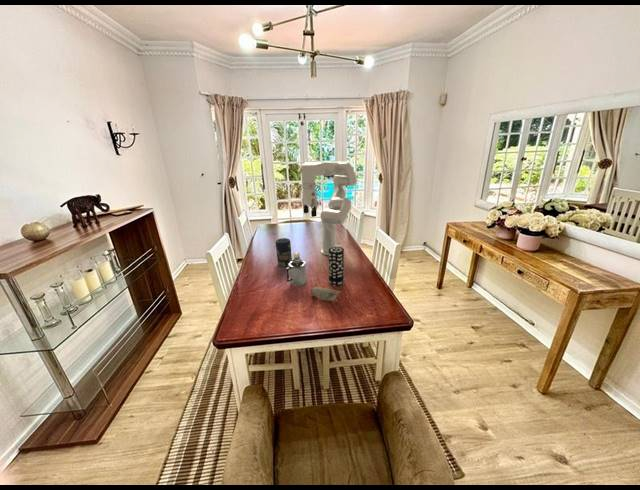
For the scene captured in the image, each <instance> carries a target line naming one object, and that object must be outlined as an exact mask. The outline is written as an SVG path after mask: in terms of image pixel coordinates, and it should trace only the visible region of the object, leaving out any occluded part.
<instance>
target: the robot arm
mask: <svg viewBox="0 0 640 490" xmlns="http://www.w3.org/2000/svg"><path fill="white" fill-rule="evenodd" d="M300 167H301V168H300V169H301V170H300V171H301V187H302V198H301V201H302V207H303V214H309V213H310V214H311V215H310V216H311V218H313V217H317V215H318V214H317V210H318V209H317V208H318V205H319V204H318V196H317V195H318V194H317V190H316V177H320V176H324V177H327V176H333V179H332V180H333V188H334V191H333V194H332V196H331V198H329V202H328V205H327V206H328V208H325V209H322V211H321V212H320V221H321V230H322V249H321V250H320V253H321V254H322V255H325V256H329V248H332V247H341V248H343V247H342V245H341V244H337V227H336V225H338V226H340V225H341V226H342V225H343V224H344V223H345V222H346V219H347V218H348V216H349V214H350V211H351V209H352V201H351V199H350V198H348V197H346V191H345V188H343V187H354V186H356V184H357V181H358V180H357V175H356V172H355V171H354V168H353V166H352V165H351V163H350V162H349V161H348V162H347V161H319V162H317V161H316V162H311V161H310V162H309V161H307V162H306V161H305V163H303V164H301V166H300ZM309 207H310V209H311V210H310V209H309Z"/></svg>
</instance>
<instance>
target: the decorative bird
mask: <svg viewBox="0 0 640 490" xmlns="http://www.w3.org/2000/svg"><path fill="white" fill-rule="evenodd" d="M340 293H341V291H340V290H334V289H332V288H326V287H325V288H323V287H318V286H315V287H313V288H312V290H311V296H312V297H315V296H316V297H318V298H319V299H320V300H322V301H327V302H328V301H331V302H335V303H336V305H335V306H338V304H339V303H341V301H342V297H341V299H339V297H338V295H339V294H340ZM336 299H337V300H338V301H336Z"/></svg>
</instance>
